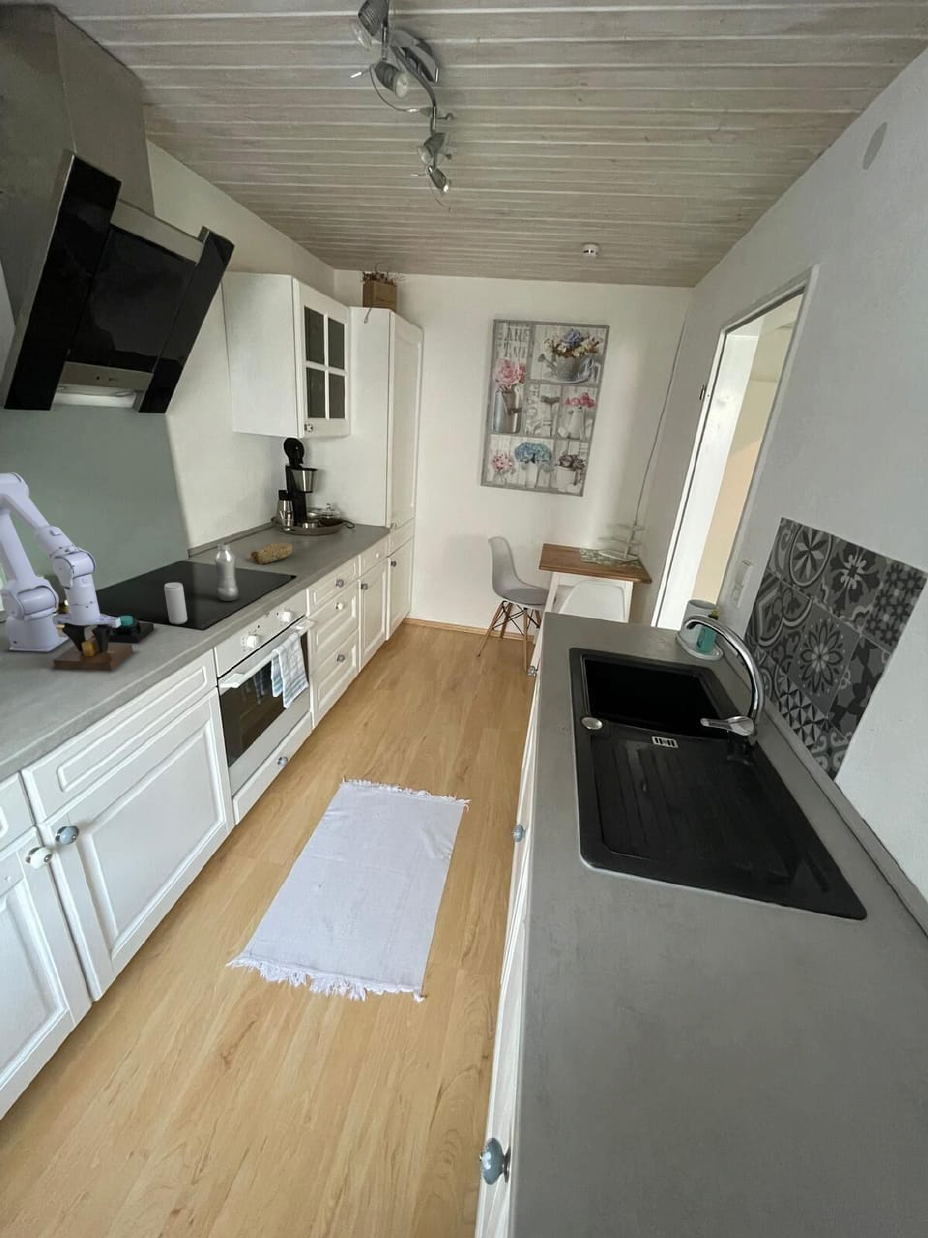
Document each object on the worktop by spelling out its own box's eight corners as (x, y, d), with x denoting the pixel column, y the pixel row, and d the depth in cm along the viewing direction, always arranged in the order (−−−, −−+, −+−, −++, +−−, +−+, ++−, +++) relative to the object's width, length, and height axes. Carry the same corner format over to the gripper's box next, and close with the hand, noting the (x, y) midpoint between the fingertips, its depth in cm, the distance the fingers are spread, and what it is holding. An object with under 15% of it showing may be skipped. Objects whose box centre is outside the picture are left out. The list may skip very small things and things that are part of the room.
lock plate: (55, 668, 119) (52, 659, 118) (81, 650, 129) (78, 641, 127) (111, 671, 121) (109, 661, 120) (133, 652, 130) (131, 643, 129)
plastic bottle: (213, 600, 167) (207, 543, 159) (229, 594, 173) (224, 540, 165) (228, 604, 165) (222, 547, 157) (243, 598, 171) (238, 543, 163)
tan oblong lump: (265, 569, 204) (304, 552, 217) (258, 552, 201) (298, 536, 214) (249, 566, 213) (288, 551, 226) (243, 550, 209) (282, 535, 222)
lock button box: (99, 641, 134) (96, 628, 132) (118, 627, 142) (115, 615, 140) (138, 643, 135) (135, 630, 133) (154, 629, 143) (152, 617, 142)
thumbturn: (91, 656, 122) (88, 643, 120) (84, 656, 121) (81, 642, 120) (103, 647, 126) (100, 634, 125) (96, 647, 126) (93, 634, 124)
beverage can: (179, 625, 147) (174, 588, 142) (165, 623, 148) (160, 586, 143) (191, 620, 151) (186, 583, 147) (177, 617, 152) (172, 581, 147)
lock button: (115, 626, 135) (114, 620, 134) (122, 621, 138) (121, 615, 138) (128, 626, 136) (127, 621, 135) (135, 621, 139) (134, 616, 138)
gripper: (123, 597, 123) (132, 644, 128) (61, 593, 121) (73, 642, 126) (107, 607, 116) (117, 657, 122) (41, 603, 115) (54, 654, 120)
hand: (93, 650), depth 124 cm, fingers open, 4 cm apart
